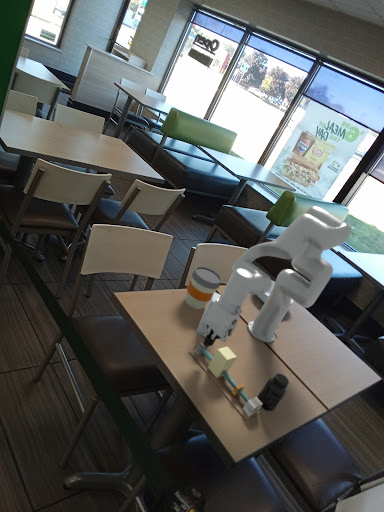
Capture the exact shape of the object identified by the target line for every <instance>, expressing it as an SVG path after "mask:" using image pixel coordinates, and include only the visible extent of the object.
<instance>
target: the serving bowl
mask: <svg viewBox="0 0 384 512" xmlns="http://www.w3.org/2000/svg"><path fill="white" fill-rule="evenodd" d="M271 281H272V285H271V288H270V289H269V290H268V291H267V292H266V293H264V294H261V295H256V296H257V297H258V299H259V300H261V302H263V303H265V302H266V300H267V298H268V297H269V295H270V293H271V291H272V289H273V287H274V285H275V282H276V280H275V281H274V280H272V279H271ZM294 302H295V301H294V300H293V299H291V304H290V306H291V305H292V304H293V303H294Z"/></svg>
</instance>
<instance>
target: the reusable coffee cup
mask: <svg viewBox="0 0 384 512" xmlns="http://www.w3.org/2000/svg"><path fill="white" fill-rule="evenodd" d="M191 275H192V276H191V278H190V279H189V282H188V286H187V288H186V291H187V292H186V296H185V298H184V301H185V303H186V304H187V306H189V307H191V308H192V309H195V310H203V309H204V308H205V307H206V305H208V303H209V302H210V299H211V297H212V295H213V293H214V292H215V293H217V290H218V289H219V288H220V286H221V283H222V281H223V279H222V277H221V276H220V274H219V273H218V272H216V271H215V270H213V269H211V268H209V267H206V266H202V265H201V266H196V267H195V269H194V270H193V272H192V273H191Z"/></svg>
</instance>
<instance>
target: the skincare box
mask: <svg viewBox="0 0 384 512" xmlns="http://www.w3.org/2000/svg"><path fill="white" fill-rule="evenodd" d="M220 296H221V294H220V293H217V292H216V293H215V292H214V293H213V295H212V297H211V299H210V301H208V303H207V306H206V308H205V310H204V312H203V313H202V317H201V319H200V320H199V323H198V326H197V329H196V333H197V334H198V335H200V336H202V337H204V338H206V336H207V325H206V324H205V322H204V320H205V317H206V315H207V313H208V311H209V309H210V308H211V306H212V305H213V304H214V303H215V301H216V300H217V299H219V298H220Z"/></svg>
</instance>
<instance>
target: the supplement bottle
mask: <svg viewBox="0 0 384 512" xmlns="http://www.w3.org/2000/svg"><path fill="white" fill-rule="evenodd" d="M289 384H290V381H289V379H288V378H287V376H286V375H284V374H283V373H279V372H278V373H276V374H275V375H274V376H273V377H271V378H269V379H268V380H267V381H266V383H265V384H264V386H263V387H262V389H261V390H260V392H259V393H258V394H257V396H256V397H257V398H258V399H259V400H260V401H261V402H262V406H261V407H260V408H262V409H263V410H265V411H268V412H273V411H275V409H276V408H277V406H279V404H280V403H281V401H282V400H283V398H284V397H285V395H286V394H287V392H288V391H287V387H288V386H289Z"/></svg>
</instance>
